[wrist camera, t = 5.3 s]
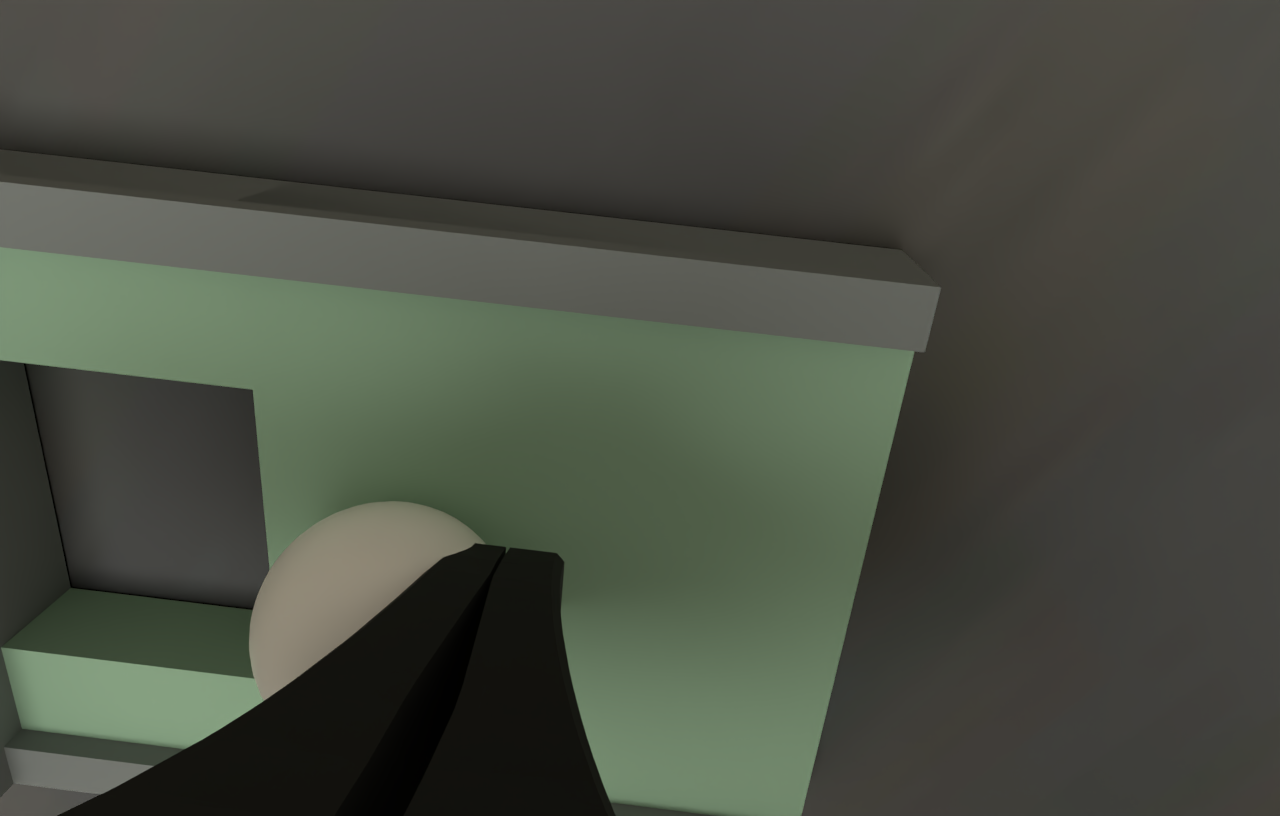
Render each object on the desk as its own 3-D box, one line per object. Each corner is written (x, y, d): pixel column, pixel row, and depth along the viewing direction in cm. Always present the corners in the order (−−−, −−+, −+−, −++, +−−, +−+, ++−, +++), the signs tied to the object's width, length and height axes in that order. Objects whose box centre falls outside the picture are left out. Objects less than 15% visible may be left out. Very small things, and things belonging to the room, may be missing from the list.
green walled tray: (902, 249, 11) (973, 318, 8) (781, 782, 15) (801, 955, 12) (-91, 139, 12) (-356, 167, 9) (41, 691, 16) (-110, 838, 13)
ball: (466, 639, 8) (181, 553, 9) (439, 859, 10) (191, 775, 10) (560, 495, 11) (343, 435, 12) (531, 677, 12) (336, 618, 13)
